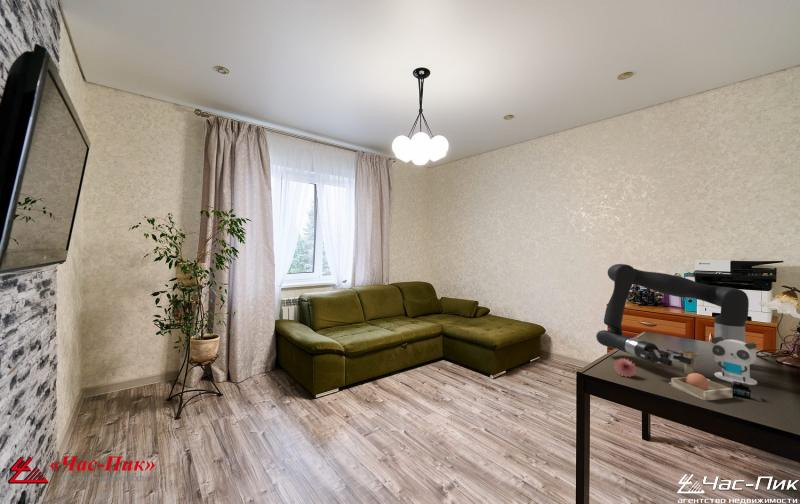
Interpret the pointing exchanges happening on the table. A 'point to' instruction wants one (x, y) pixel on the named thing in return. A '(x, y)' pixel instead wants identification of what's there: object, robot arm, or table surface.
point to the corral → (712, 394)
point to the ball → (697, 381)
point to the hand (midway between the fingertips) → (681, 362)
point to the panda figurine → (734, 360)
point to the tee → (690, 367)
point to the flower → (625, 367)
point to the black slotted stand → (743, 394)
